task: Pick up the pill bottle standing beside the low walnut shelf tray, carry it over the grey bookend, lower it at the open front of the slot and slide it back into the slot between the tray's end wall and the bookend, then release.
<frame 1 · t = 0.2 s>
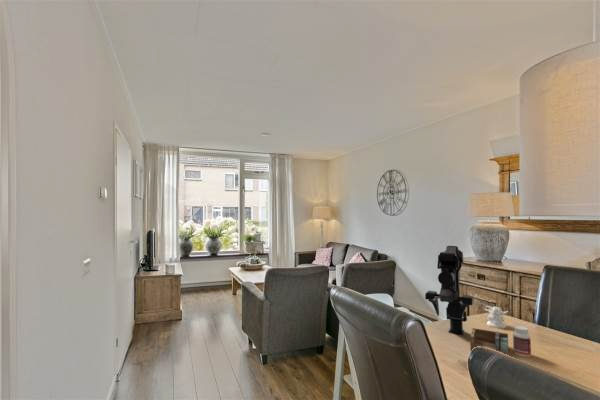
hand: (449, 317, 143), 15 cm above the table, fingers open, 9 cm apart
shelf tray: (489, 348, 145), on the table
figurine: (496, 325, 176), on the table
pill bottle: (522, 354, 139), on the table
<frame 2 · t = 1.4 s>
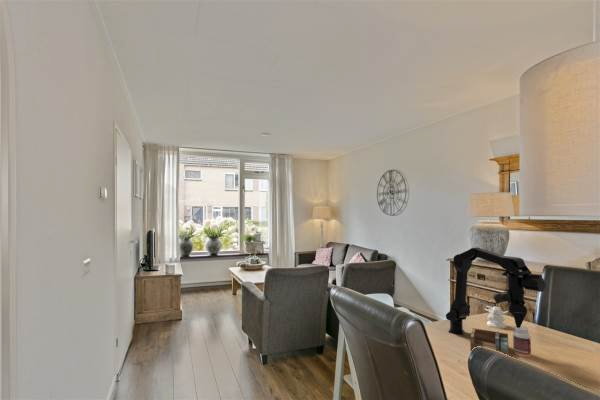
hand: (517, 324, 140), 12 cm above the table, fingers open, 9 cm apart
nothing on the table moved.
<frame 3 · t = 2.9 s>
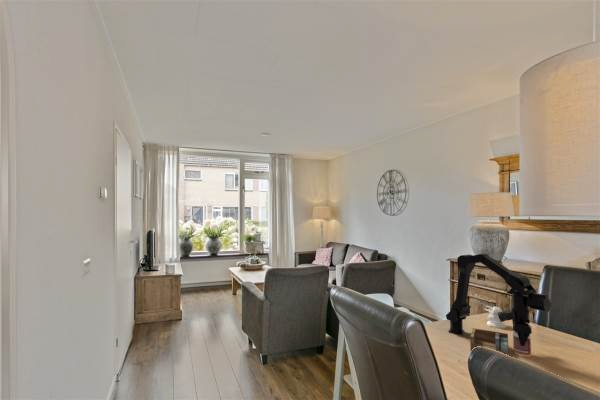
hand: (521, 343, 139), 5 cm above the table, fingers closed on pill bottle, 6 cm apart
pill bottle: (522, 354, 139), on the table, touching gripper
everything else where it was.
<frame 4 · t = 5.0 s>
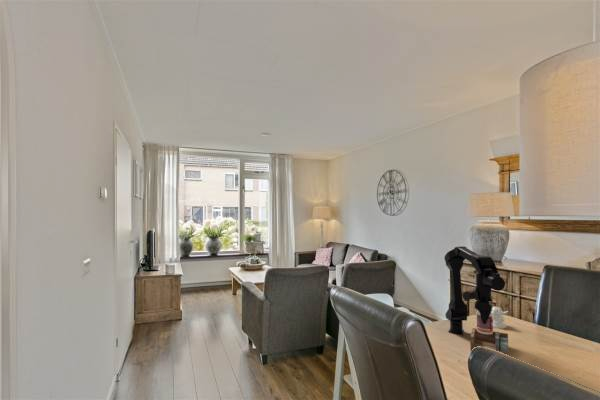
hand: (484, 321, 142), 13 cm above the table, fingers closed on pill bottle, 6 cm apart
pill bottle: (484, 332, 142), point 8 cm above the table, touching gripper
everything else where it was.
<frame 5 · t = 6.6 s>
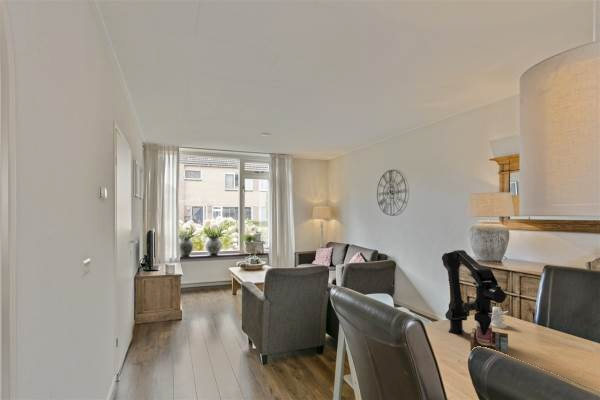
hand: (484, 332, 145), 7 cm above the table, fingers closed on pill bottle, 6 cm apart
pill bottle: (484, 343, 145), point 2 cm above the table, touching gripper
everything else where it was.
when the fingers open (7 cm above the table, at t = 7.5 s): pill bottle drops 1 cm, resting on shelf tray.
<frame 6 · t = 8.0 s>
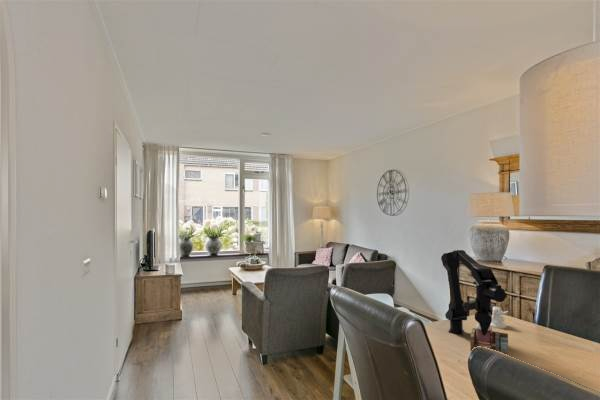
hand: (484, 331, 145), 7 cm above the table, fingers open, 9 cm apart
pill bottle: (484, 346, 145), point 1 cm above the table, touching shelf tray
everything else where it was.
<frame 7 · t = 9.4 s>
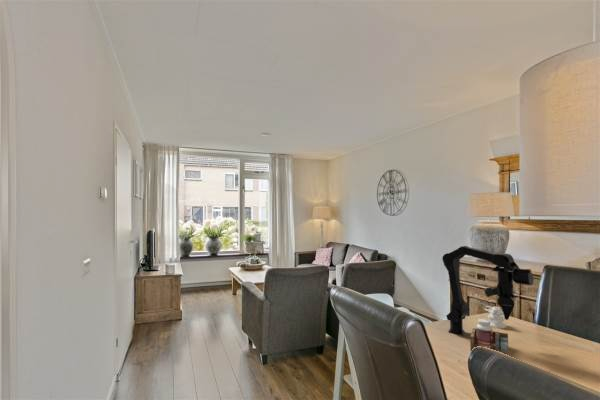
hand: (506, 316, 148), 13 cm above the table, fingers open, 9 cm apart
nothing on the table moved.
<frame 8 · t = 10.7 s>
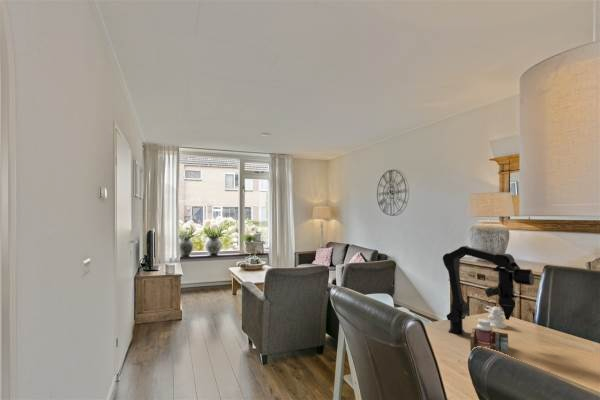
hand: (507, 316, 148), 13 cm above the table, fingers open, 9 cm apart
nothing on the table moved.
at the end: pill bottle inside the target area (0.3 cm from its centre), point 1.0 cm above the table; pill bottle tilted 0°; the gripper is holding nothing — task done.
